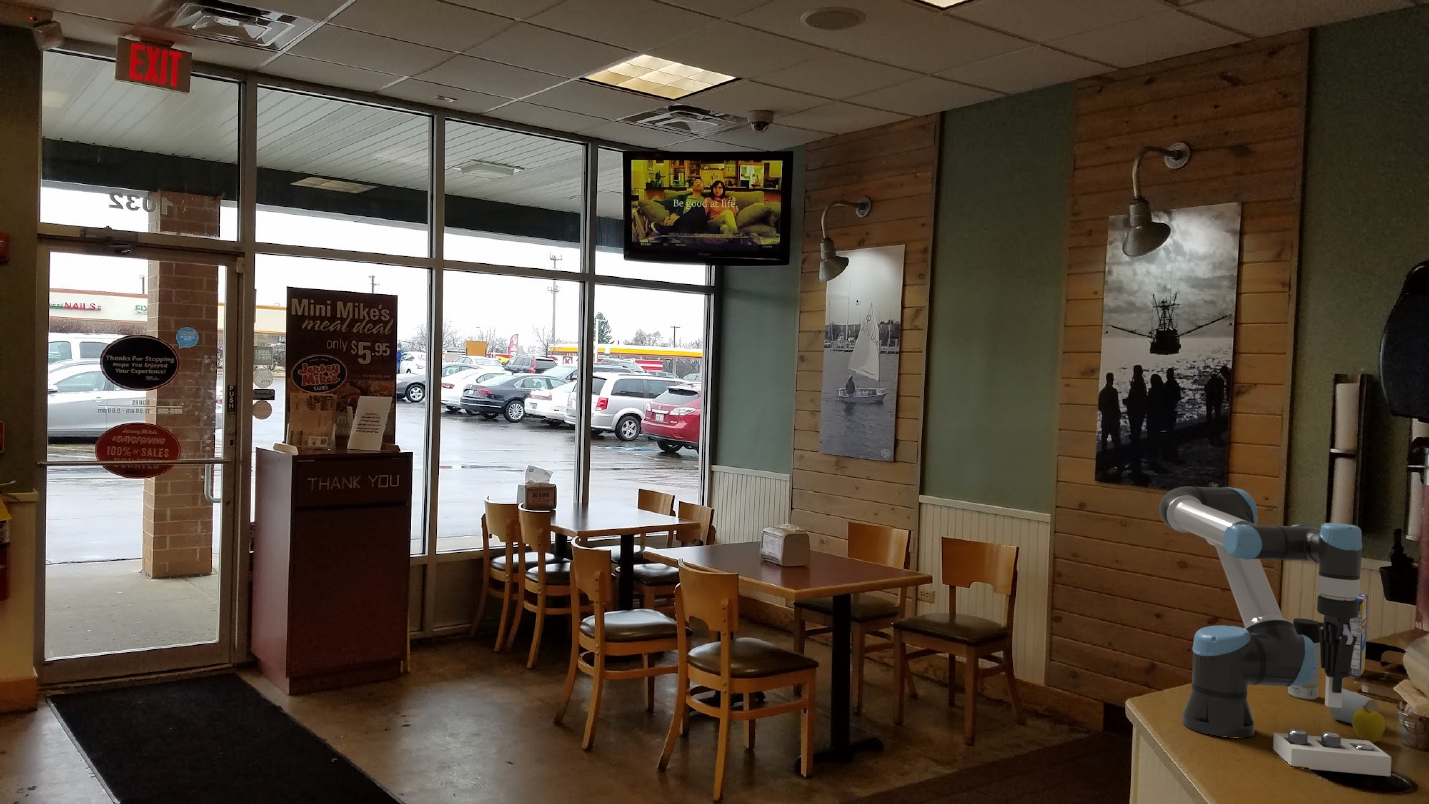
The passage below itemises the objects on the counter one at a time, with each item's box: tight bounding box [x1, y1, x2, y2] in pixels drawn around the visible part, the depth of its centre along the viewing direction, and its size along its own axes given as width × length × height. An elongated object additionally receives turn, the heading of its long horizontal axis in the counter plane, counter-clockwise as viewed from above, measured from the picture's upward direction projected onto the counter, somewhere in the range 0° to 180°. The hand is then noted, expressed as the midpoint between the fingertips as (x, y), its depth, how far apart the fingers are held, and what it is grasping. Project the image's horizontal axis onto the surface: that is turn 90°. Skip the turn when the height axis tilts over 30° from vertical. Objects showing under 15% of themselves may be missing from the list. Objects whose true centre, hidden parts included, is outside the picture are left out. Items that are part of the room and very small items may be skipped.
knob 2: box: [1354, 744, 1374, 752], centre depth 211 cm, size 4×4×4 cm
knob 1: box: [1287, 728, 1309, 746], centre depth 213 cm, size 4×4×4 cm
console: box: [1272, 732, 1392, 777], centre depth 212 cm, size 19×10×4 cm, turn 80°
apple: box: [1351, 705, 1386, 744], centre depth 227 cm, size 6×6×8 cm
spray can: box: [1287, 617, 1321, 701], centre depth 261 cm, size 7×7×20 cm
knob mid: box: [1320, 731, 1342, 749], centre depth 212 cm, size 4×4×4 cm
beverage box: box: [1349, 593, 1369, 678], centre depth 288 cm, size 7×11×22 cm, turn 140°
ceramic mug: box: [1329, 688, 1380, 725], centre depth 240 cm, size 11×8×8 cm
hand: (1333, 706), depth 212 cm, fingers closed
